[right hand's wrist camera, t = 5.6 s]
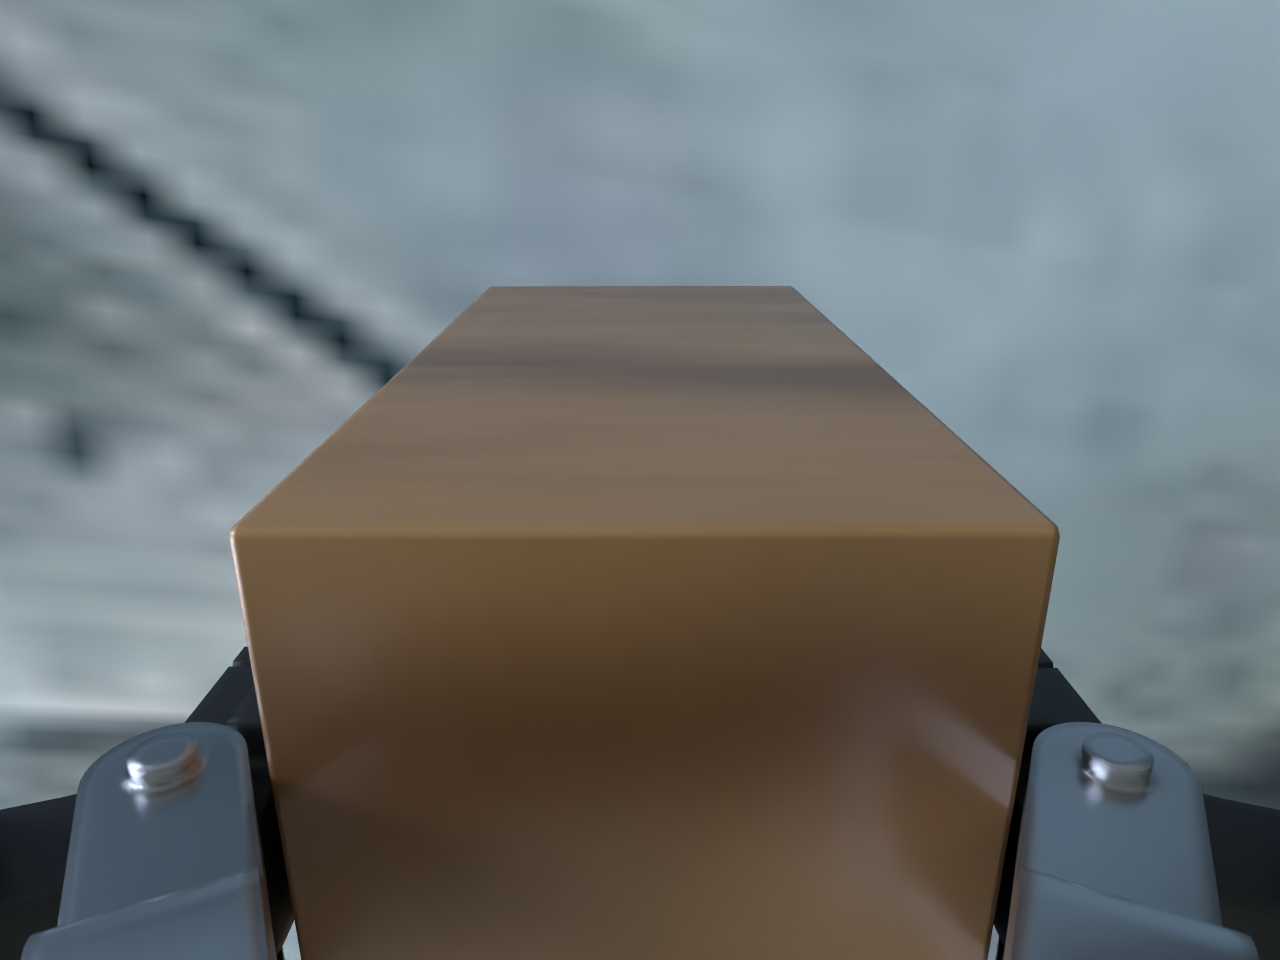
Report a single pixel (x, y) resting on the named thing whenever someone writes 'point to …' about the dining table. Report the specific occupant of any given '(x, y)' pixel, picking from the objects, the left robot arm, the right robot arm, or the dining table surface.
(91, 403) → the dining table surface
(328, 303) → the dining table surface
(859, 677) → the box
